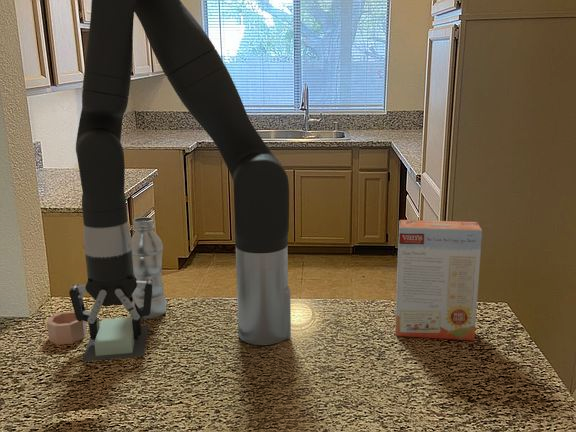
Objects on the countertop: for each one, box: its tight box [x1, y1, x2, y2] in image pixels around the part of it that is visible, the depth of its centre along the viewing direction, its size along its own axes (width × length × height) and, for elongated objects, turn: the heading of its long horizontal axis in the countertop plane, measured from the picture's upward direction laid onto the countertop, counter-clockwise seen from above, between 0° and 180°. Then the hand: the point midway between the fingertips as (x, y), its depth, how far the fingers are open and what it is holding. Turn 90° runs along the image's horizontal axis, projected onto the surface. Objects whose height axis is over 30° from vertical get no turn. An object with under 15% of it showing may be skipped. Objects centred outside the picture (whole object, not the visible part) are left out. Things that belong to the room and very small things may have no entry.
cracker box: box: [395, 219, 483, 342], centre depth 102 cm, size 14×6×21 cm, turn 80°
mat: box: [81, 324, 149, 363], centre depth 100 cm, size 10×12×1 cm
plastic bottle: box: [131, 216, 168, 320], centre depth 109 cm, size 6×7×20 cm
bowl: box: [46, 310, 88, 346], centre depth 102 cm, size 6×6×4 cm
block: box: [94, 316, 135, 356], centre depth 99 cm, size 6×9×2 cm, turn 10°
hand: (116, 338), depth 99 cm, fingers closed on block, 6 cm apart
